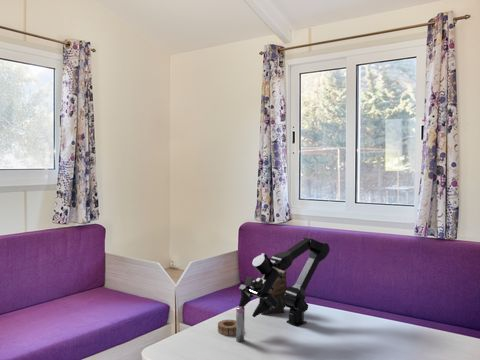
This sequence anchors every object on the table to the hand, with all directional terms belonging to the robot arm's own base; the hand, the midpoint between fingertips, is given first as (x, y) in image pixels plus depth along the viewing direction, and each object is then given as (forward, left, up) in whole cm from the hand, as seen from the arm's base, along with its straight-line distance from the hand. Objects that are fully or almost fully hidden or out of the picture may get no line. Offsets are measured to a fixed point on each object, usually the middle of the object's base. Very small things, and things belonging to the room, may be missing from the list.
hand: (245, 313), depth 167 cm
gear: (0, -10, -10) cm, 15 cm away
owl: (-30, -15, -11) cm, 36 cm away
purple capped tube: (+3, 0, -10) cm, 11 cm away
